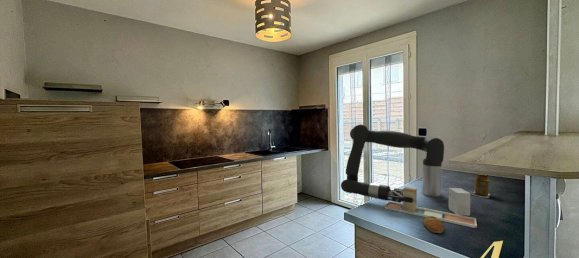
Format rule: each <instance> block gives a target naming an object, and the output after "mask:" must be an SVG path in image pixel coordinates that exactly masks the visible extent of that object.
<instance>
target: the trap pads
mask: <svg viewBox="0 0 579 258" xmlns="http://www.w3.org/2000/svg"><path fill="white" fill-rule="evenodd" d="M387 207H392V208H397V209H401V210H402V207H403V206H400V205H395V204H390V203H389V204H388V205H387ZM444 219H449V220H453V221H458V222H463V223H468V224H472V225H475V224H474V220H469V219H464V218H460V217H455V216H450V215H444Z"/></svg>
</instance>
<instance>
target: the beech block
mask: <svg viewBox="0 0 579 258" xmlns="http://www.w3.org/2000/svg"><path fill="white" fill-rule="evenodd" d="M402 189H403V197H410V198H413V202H412V203H409V202H404V201H403V202H402V204H403V206H402V207H403V208H402V210H406V211H411V212H416V213H417V209H416V207H418V206H417V198H418V196H417V194H418V189H417V187H414V186H408V185H405V186H404V187H403V188H402Z"/></svg>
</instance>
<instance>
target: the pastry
mask: <svg viewBox="0 0 579 258" xmlns="http://www.w3.org/2000/svg"><path fill="white" fill-rule="evenodd" d="M423 225H424V227H425V228H426V229H427V230H428V231H429V232H431V233H434V234H435V233H437V234H442V233H443V232H444V229H445V228H444V227H445V226H444V223H443V221H441V220H439V219H438V218H436V217H434V216H429V217H424V219H423Z"/></svg>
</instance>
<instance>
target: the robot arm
mask: <svg viewBox="0 0 579 258" xmlns="http://www.w3.org/2000/svg"><path fill="white" fill-rule="evenodd" d="M349 136H350V138H351V140H352V145H351V149H350V153H349V156H348V159H347V161H346V162H347V163H346V166H345V175H346V179H344V180H343V181H342V182H341V183H340V187H341V188H340V189H341V190H342V191H343V192H345V193H346V194H347V193H348V194H355V195H360V196H364V197H368V198H369V197H370V198H372V199H376V200H382V201H387V202H388V201H391V202H396V203H401V204H402V203H403V201H404V202H409V203H412V202H413V198H410V197H403V188H396V187H394V188H393V189H391V187H390V186H389V185H385V184H379V183H371V182H363V181H362V182H361V181H359V176H358V175H359V171H360V166H361V160H362V157H363V151H364V147H365V144H366V143H372V144H378V145H382V146H388V147H391V148H392V147H393V148H399V149H416V150H419V151H422V152H423V151H424V152H425V153H426V155H425V156H426V157H425V158H424V159H423V160H422V188H421V189H422V190H421V191H422V194H423V195H425V196H429V197H436V198H437V197H441V196H442V168H443V167H442V165H443V161H444V155H445V144H444V141H443V140H442V139H441V138H439V137H432V136H418V135H417V136H415V135H411V134H408V133H405V132H401V131H395V130H371V129H369V128H368V127H367V126H366V125H365V124H356V125H355V126H354V127H352V128H351V130H350V132H349Z"/></svg>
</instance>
